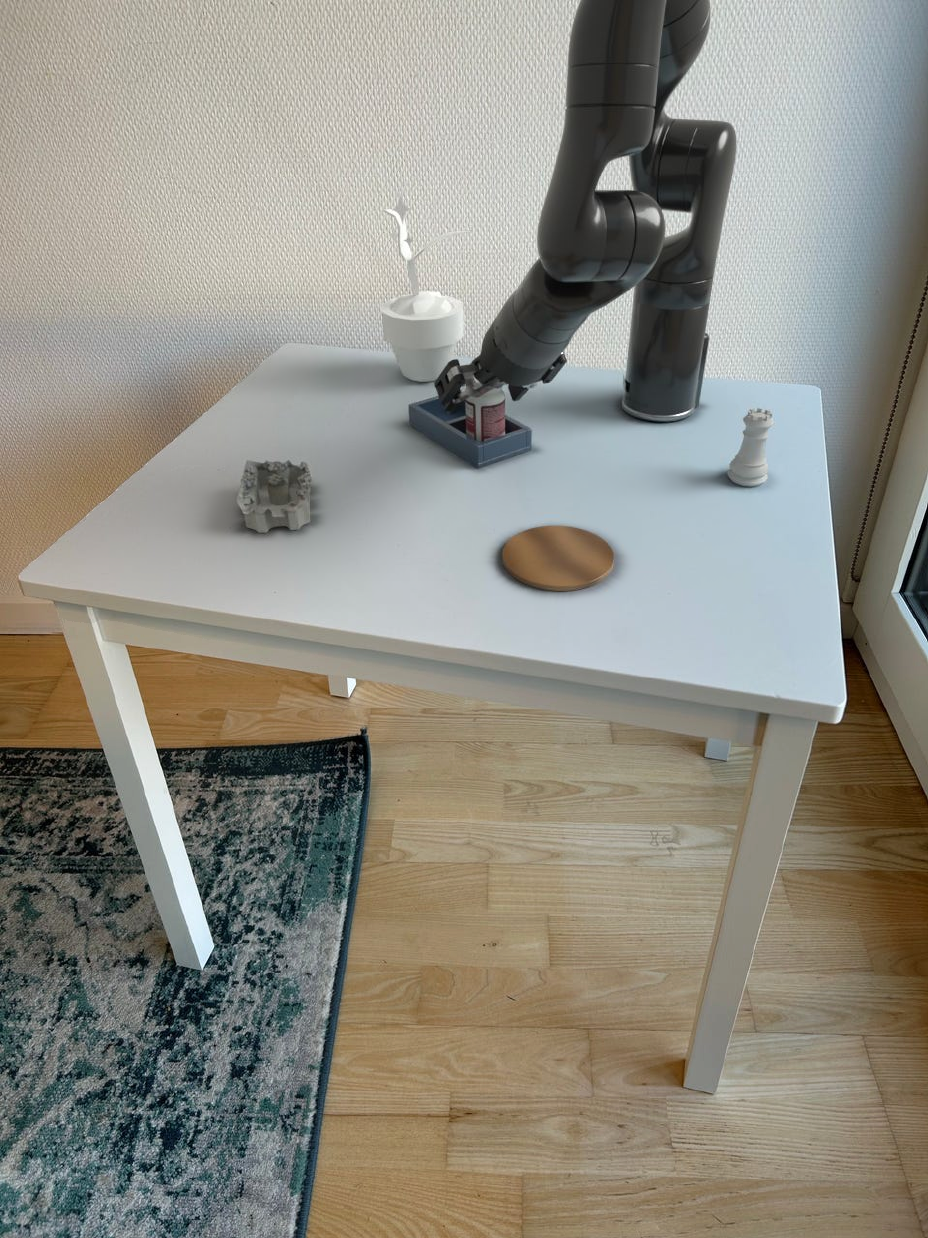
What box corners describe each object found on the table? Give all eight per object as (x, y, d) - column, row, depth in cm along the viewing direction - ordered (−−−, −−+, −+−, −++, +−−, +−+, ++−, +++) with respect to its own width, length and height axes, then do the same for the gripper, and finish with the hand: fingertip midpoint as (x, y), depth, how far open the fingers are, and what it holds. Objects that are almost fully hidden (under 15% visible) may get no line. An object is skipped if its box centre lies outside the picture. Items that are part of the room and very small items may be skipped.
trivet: (564, 519, 92) (564, 514, 91) (637, 565, 84) (637, 560, 84) (480, 552, 87) (480, 547, 86) (550, 605, 79) (550, 599, 79)
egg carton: (311, 531, 90) (306, 497, 88) (239, 536, 90) (231, 501, 88) (316, 482, 99) (311, 450, 96) (250, 486, 98) (244, 454, 96)
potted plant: (376, 388, 121) (360, 193, 106) (395, 358, 130) (383, 174, 115) (465, 393, 119) (461, 195, 104) (477, 362, 128) (476, 176, 113)
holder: (460, 409, 115) (459, 389, 113) (531, 450, 105) (532, 428, 103) (409, 424, 111) (408, 404, 109) (478, 468, 101) (478, 446, 99)
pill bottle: (509, 437, 106) (510, 371, 101) (498, 453, 103) (498, 386, 98) (473, 432, 108) (472, 366, 102) (460, 448, 104) (459, 381, 99)
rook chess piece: (770, 473, 99) (784, 407, 94) (763, 491, 96) (778, 423, 91) (730, 466, 100) (743, 401, 96) (722, 483, 97) (735, 416, 92)
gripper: (578, 289, 90) (523, 361, 106) (454, 309, 86) (416, 381, 101) (601, 355, 90) (542, 418, 105) (478, 379, 85) (435, 441, 100)
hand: (480, 400), depth 103 cm, fingers open, 8 cm apart
